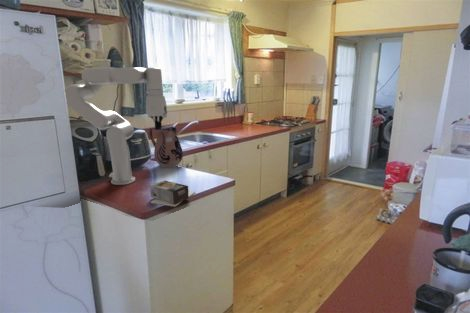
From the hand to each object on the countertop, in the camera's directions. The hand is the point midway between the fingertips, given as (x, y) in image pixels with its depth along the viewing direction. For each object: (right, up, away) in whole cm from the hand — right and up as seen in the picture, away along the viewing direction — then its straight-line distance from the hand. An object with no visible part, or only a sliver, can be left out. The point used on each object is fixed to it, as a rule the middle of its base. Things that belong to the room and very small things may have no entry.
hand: (158, 128), depth 167 cm
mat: (+11, -34, -15) cm, 38 cm away
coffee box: (+3, -29, -13) cm, 32 cm away
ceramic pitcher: (-4, -20, +39) cm, 44 cm away
